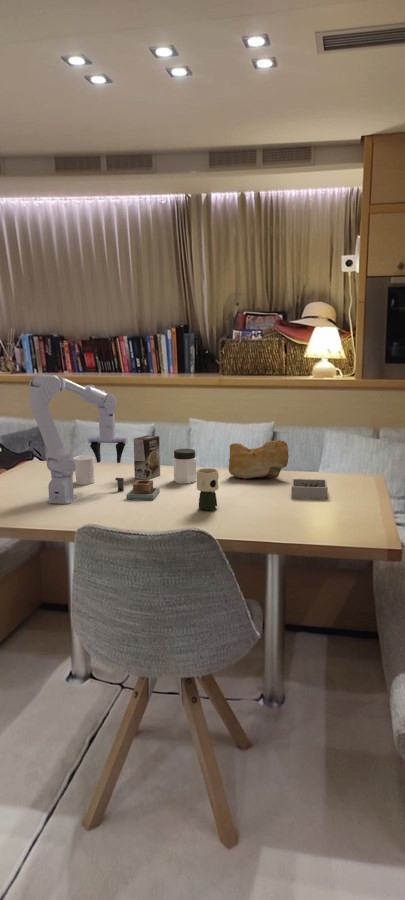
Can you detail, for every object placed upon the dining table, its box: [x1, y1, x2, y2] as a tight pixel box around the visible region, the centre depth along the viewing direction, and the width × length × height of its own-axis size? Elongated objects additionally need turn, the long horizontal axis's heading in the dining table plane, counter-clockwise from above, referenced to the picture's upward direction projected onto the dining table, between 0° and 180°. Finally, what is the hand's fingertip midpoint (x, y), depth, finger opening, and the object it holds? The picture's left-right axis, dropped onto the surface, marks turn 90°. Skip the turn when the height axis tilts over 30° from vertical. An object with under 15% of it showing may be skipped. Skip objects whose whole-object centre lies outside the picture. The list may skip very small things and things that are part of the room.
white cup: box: [73, 454, 95, 486], centre depth 239 cm, size 8×8×10 cm
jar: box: [173, 448, 197, 484], centre depth 239 cm, size 9×8×12 cm
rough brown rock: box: [228, 439, 290, 479], centre depth 245 cm, size 23×17×15 cm
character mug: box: [196, 467, 219, 511], centre depth 203 cm, size 11×7×13 cm, turn 153°
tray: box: [126, 487, 161, 501], centre depth 220 cm, size 10×10×2 cm
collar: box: [132, 479, 154, 494], centre depth 220 cm, size 6×6×4 cm
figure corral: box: [290, 478, 329, 500], centre depth 219 cm, size 11×12×4 cm
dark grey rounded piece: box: [114, 477, 125, 493], centre depth 227 cm, size 2×3×5 cm
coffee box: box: [133, 434, 161, 480], centre depth 246 cm, size 9×6×16 cm
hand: (108, 462), depth 229 cm, fingers open, 7 cm apart
